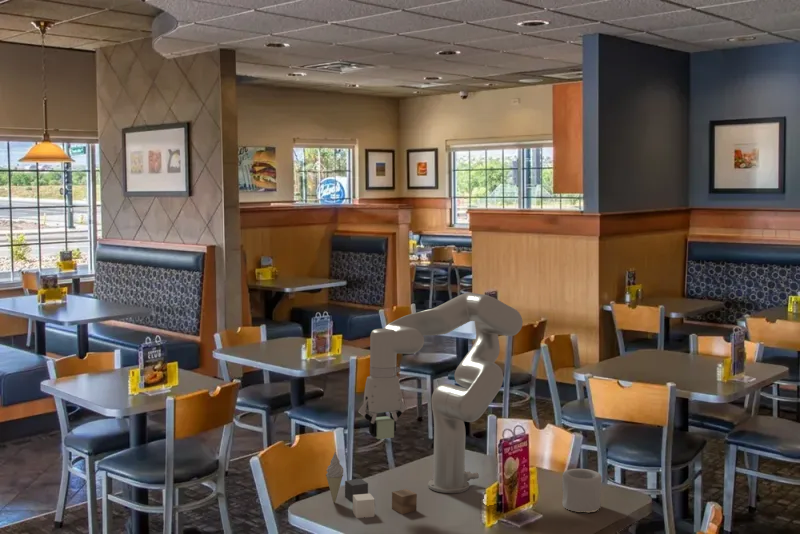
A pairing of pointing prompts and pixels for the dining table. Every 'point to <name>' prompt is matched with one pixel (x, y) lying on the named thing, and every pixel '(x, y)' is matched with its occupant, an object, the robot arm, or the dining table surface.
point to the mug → (581, 490)
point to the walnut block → (404, 501)
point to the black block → (355, 488)
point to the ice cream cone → (334, 476)
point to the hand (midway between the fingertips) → (382, 434)
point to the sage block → (384, 427)
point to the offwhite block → (363, 505)
